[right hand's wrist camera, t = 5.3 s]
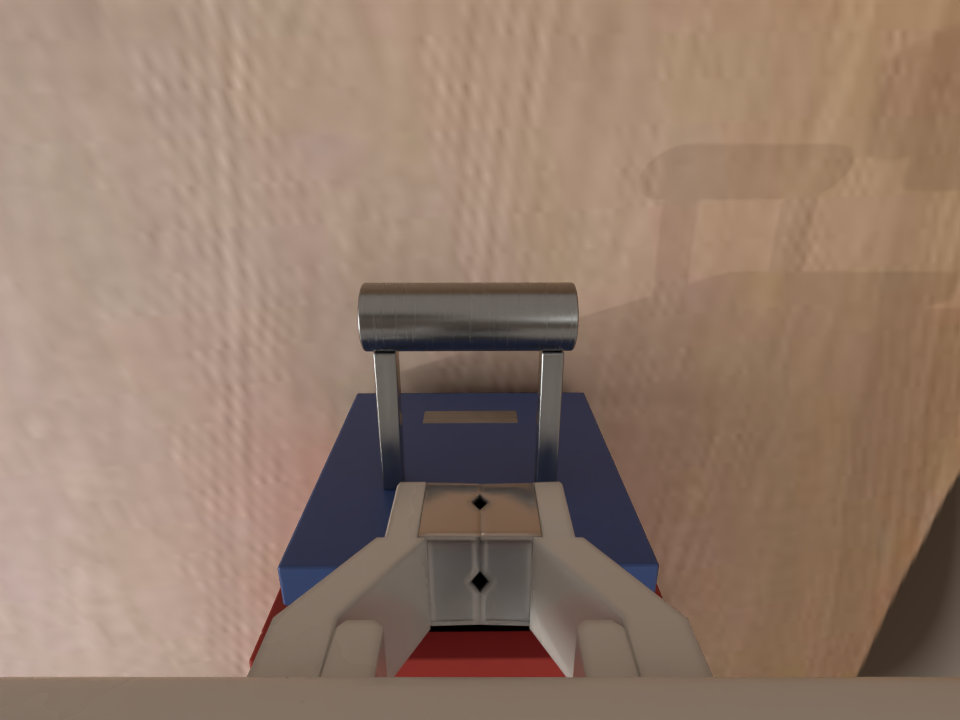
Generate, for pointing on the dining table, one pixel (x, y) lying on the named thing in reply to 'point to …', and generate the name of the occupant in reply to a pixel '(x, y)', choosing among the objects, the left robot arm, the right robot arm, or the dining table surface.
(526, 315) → the drawer
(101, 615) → the dining table surface
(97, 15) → the dining table surface
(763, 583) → the dining table surface
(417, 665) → the red drawer cabinet
